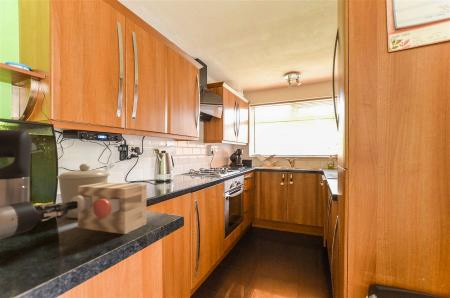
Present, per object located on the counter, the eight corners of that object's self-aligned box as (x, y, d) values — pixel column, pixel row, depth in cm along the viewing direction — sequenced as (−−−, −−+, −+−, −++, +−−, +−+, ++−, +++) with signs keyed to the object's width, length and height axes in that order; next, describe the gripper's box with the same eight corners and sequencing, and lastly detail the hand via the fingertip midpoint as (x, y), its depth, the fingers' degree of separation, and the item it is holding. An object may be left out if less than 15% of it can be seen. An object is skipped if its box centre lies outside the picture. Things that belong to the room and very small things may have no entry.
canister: (84, 223, 77) (84, 165, 78) (43, 220, 81) (44, 164, 81) (118, 210, 95) (118, 162, 95) (84, 208, 99) (84, 162, 99)
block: (77, 227, 73) (77, 186, 73) (102, 219, 82) (102, 182, 82) (125, 234, 67) (125, 188, 67) (146, 223, 76) (146, 184, 76)
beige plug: (69, 212, 69) (69, 195, 69) (93, 205, 77) (93, 191, 77) (81, 213, 67) (81, 196, 67) (104, 206, 75) (104, 191, 75)
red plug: (93, 216, 63) (93, 199, 63) (116, 209, 72) (116, 193, 72) (106, 218, 62) (106, 200, 62) (128, 210, 70) (128, 194, 70)
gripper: (23, 207, 50) (91, 193, 66) (-11, 203, 54) (61, 191, 70) (23, 239, 49) (91, 218, 66) (-11, 233, 54) (61, 214, 70)
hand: (75, 204), depth 68 cm, fingers closed
